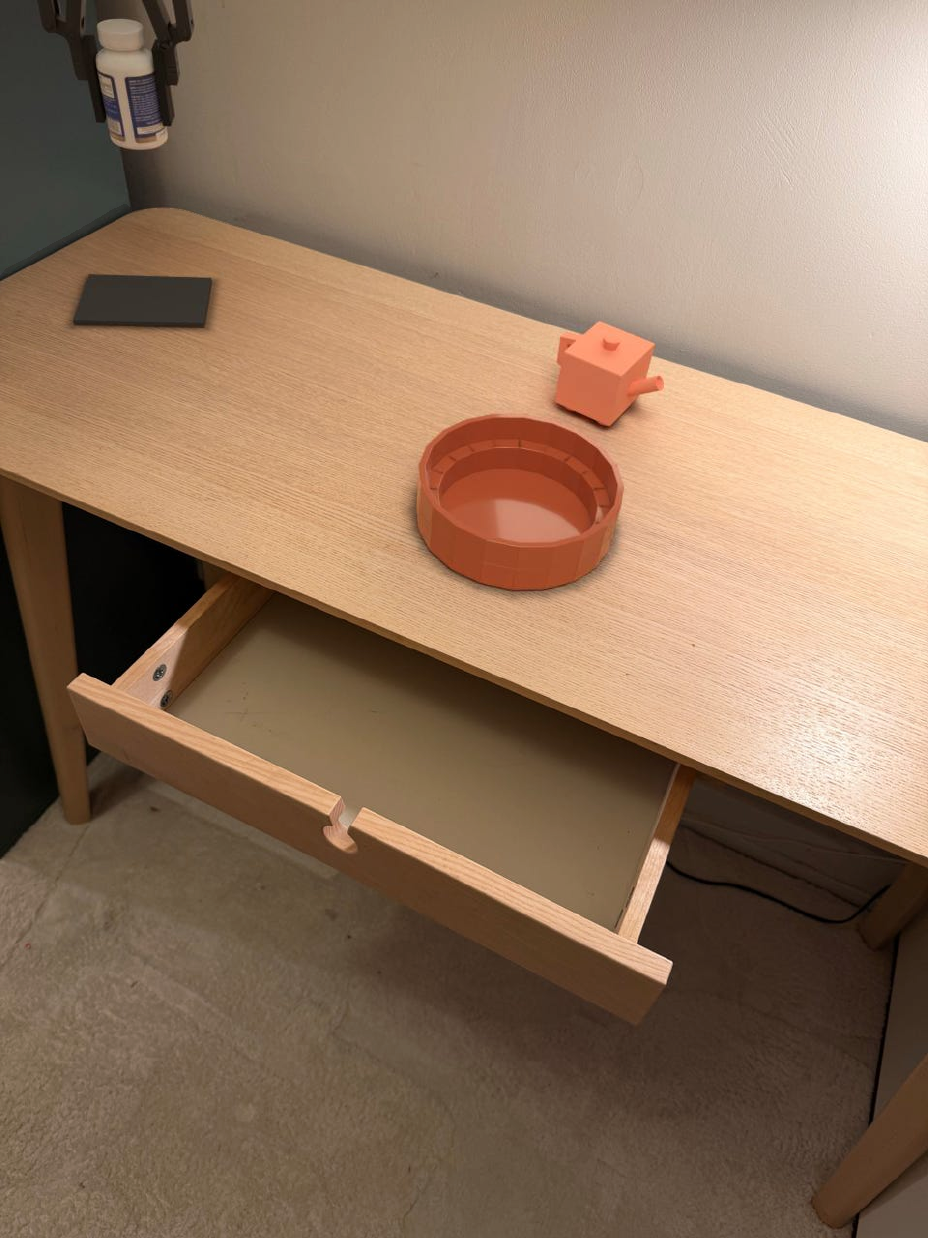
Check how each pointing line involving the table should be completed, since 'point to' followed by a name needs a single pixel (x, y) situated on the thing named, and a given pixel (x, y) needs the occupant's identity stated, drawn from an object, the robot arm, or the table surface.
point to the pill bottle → (129, 86)
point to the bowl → (517, 501)
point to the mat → (144, 301)
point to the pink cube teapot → (603, 372)
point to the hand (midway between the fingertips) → (135, 118)
